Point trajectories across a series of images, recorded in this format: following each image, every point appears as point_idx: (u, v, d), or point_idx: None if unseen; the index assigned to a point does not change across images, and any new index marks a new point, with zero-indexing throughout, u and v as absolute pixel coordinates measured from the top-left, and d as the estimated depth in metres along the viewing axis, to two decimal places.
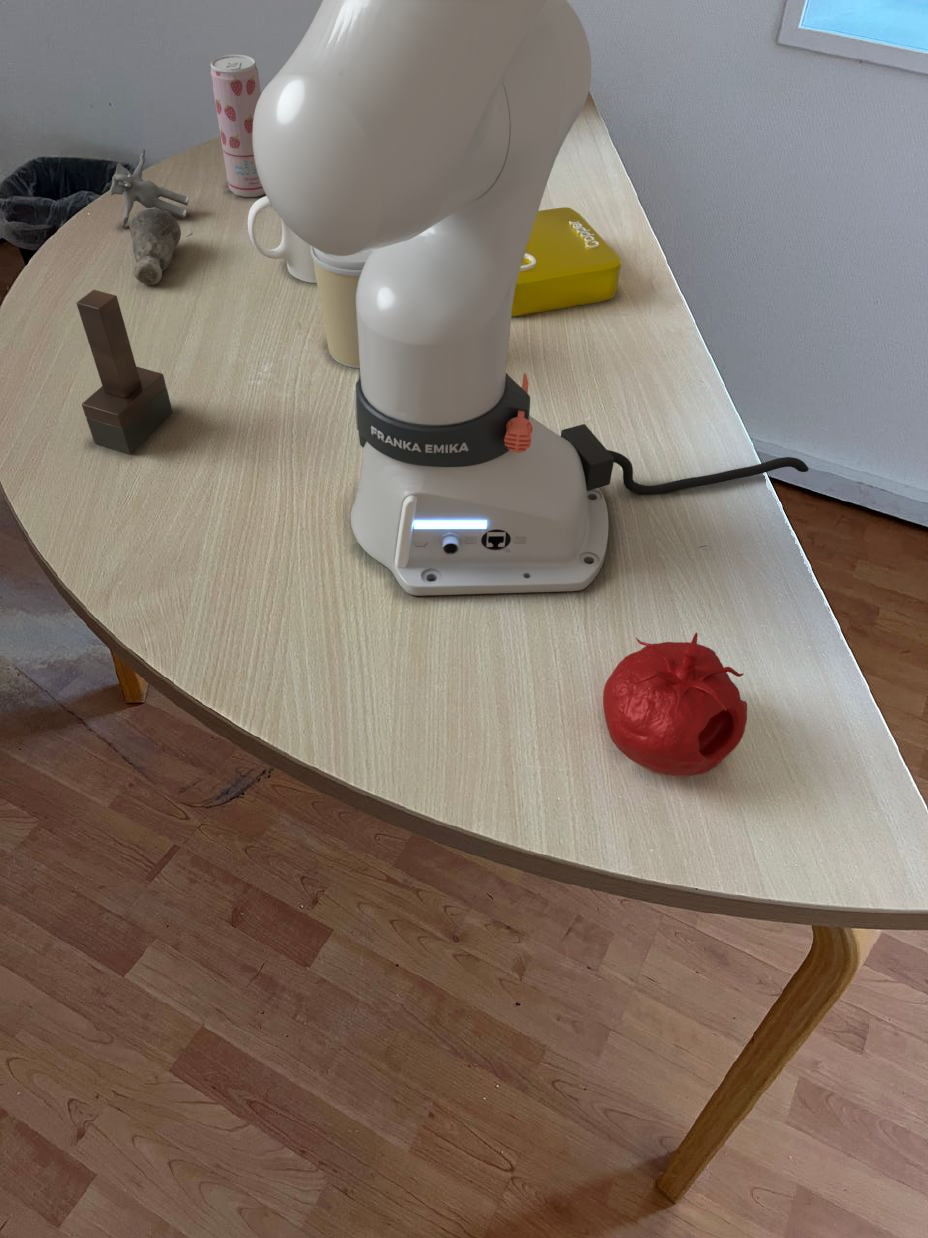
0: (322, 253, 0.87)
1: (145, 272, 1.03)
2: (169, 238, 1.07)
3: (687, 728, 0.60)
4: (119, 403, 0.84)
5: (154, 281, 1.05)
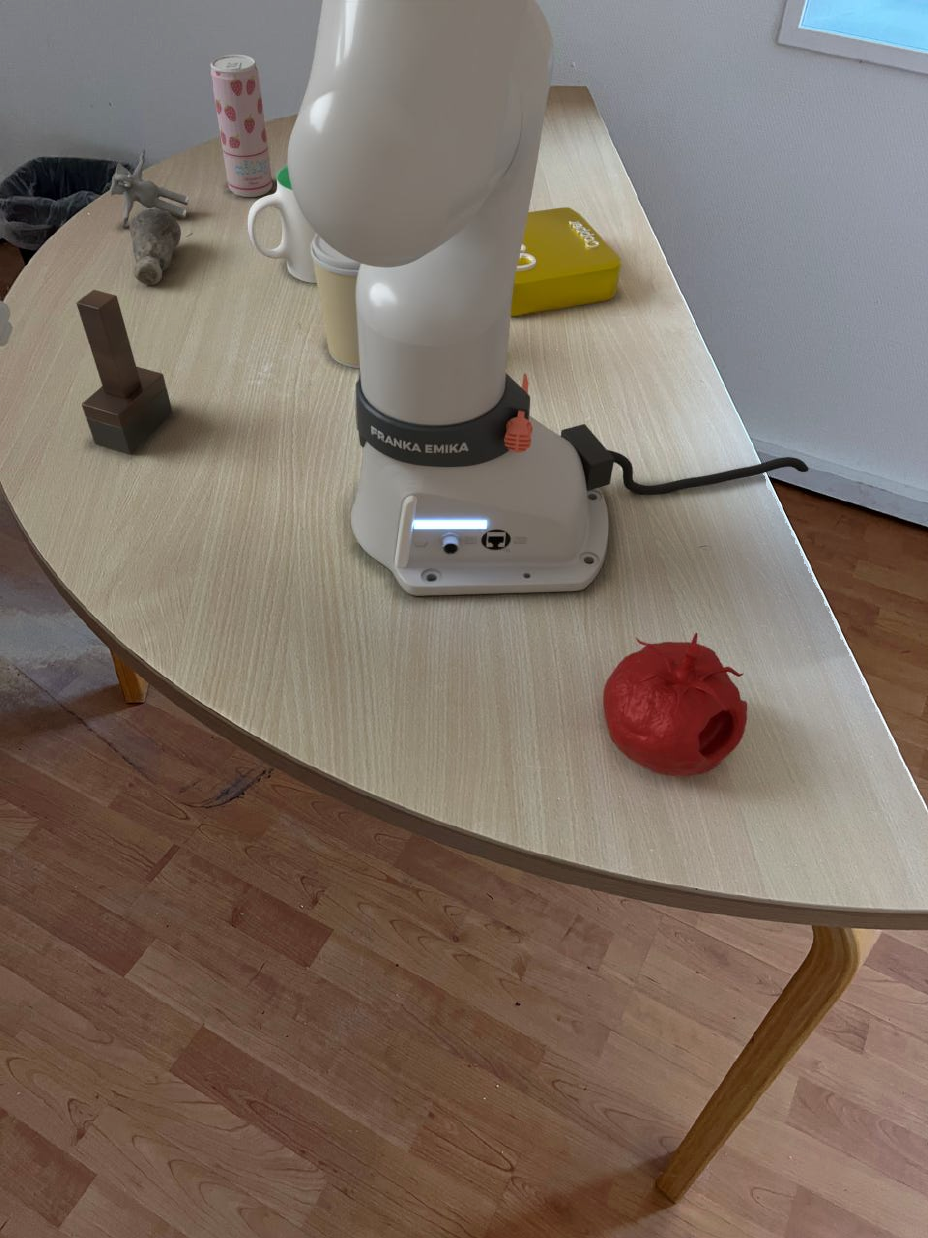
0: (322, 253, 0.87)
1: (145, 272, 1.03)
2: (169, 238, 1.07)
3: (687, 728, 0.60)
4: (119, 403, 0.84)
5: (154, 281, 1.05)
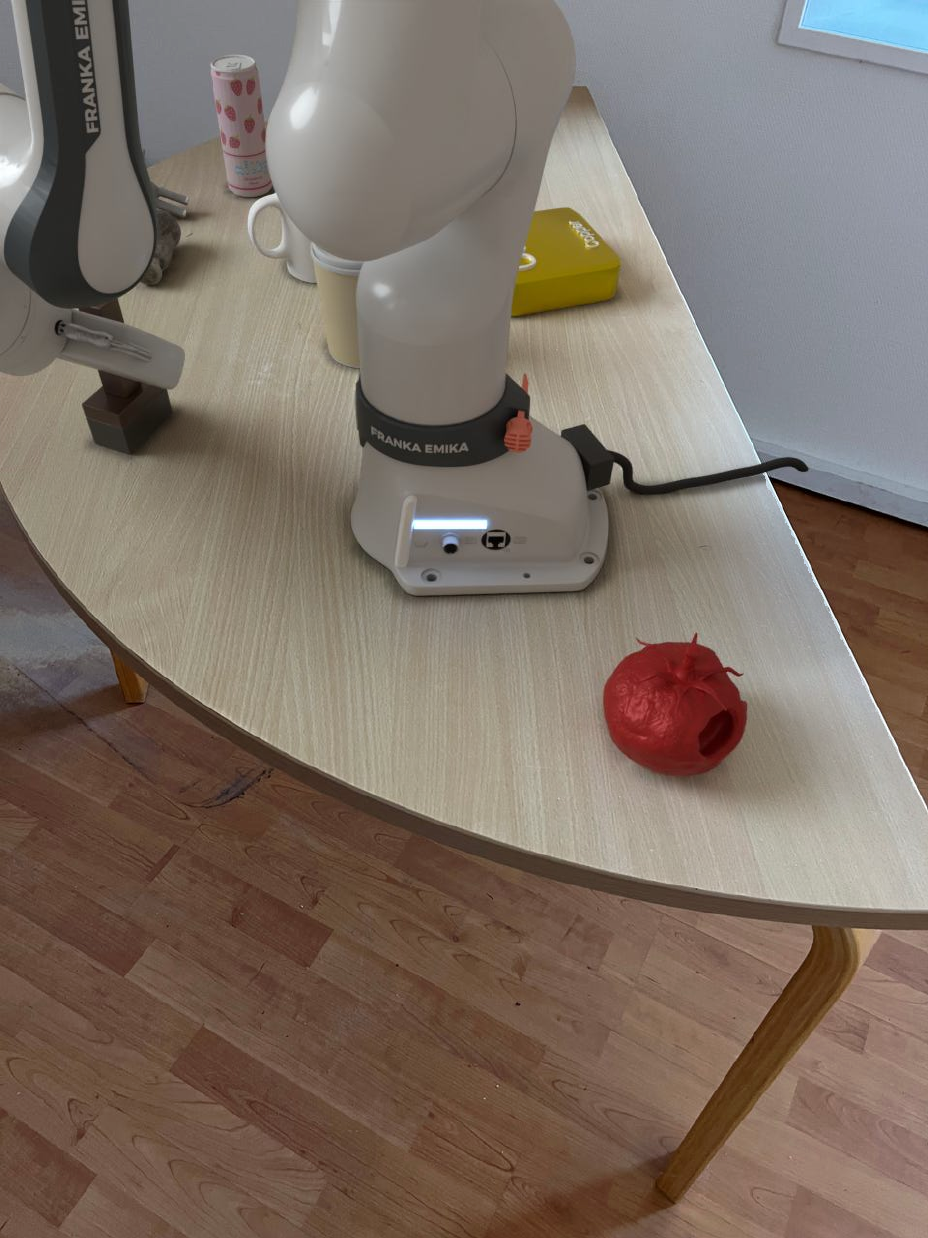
0: (322, 253, 0.87)
1: None
2: (169, 238, 1.07)
3: (687, 728, 0.60)
4: (119, 403, 0.84)
5: (153, 281, 1.05)
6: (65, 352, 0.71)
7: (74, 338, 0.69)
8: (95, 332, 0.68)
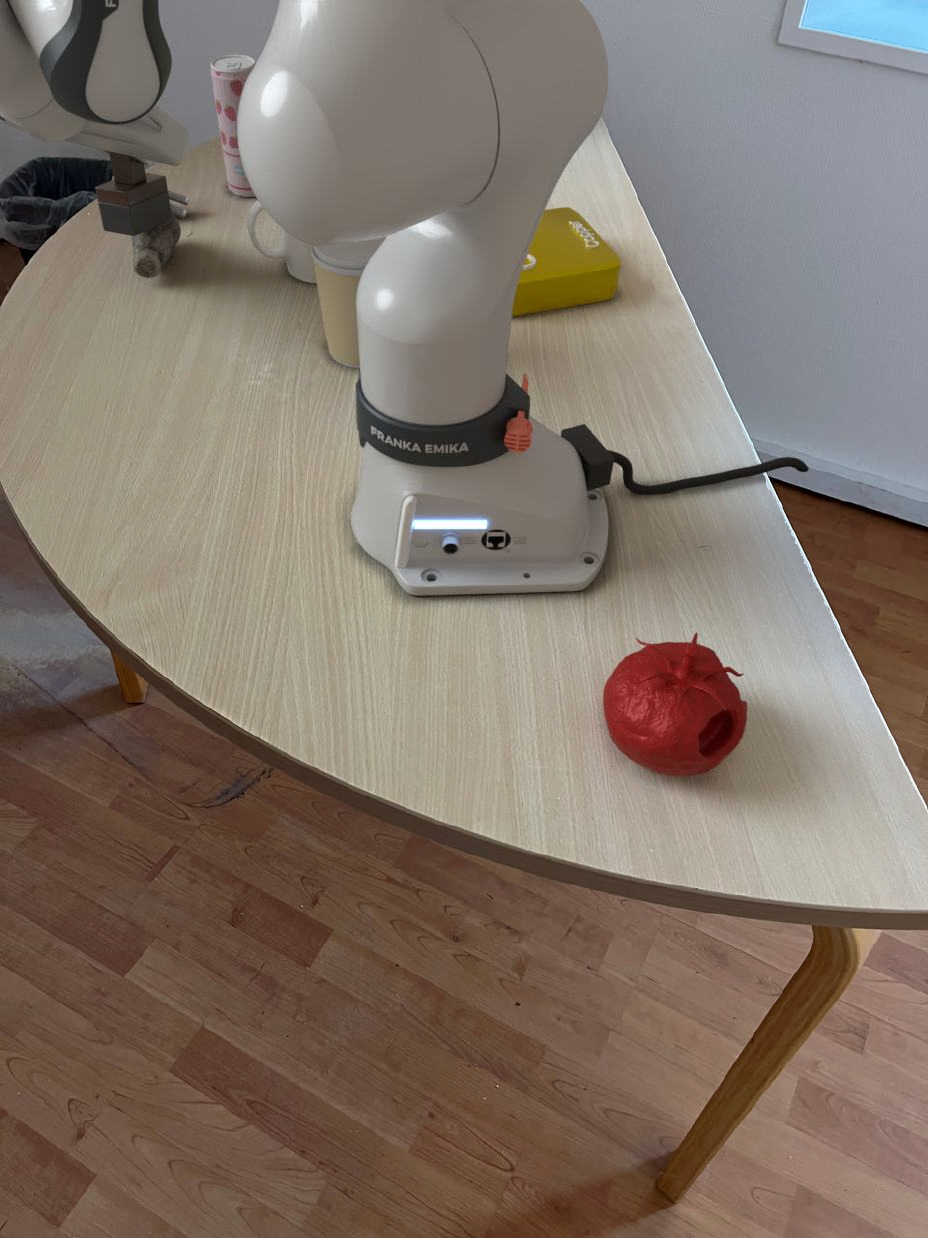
0: (322, 253, 0.87)
1: (143, 263, 1.03)
2: (169, 234, 1.06)
3: (687, 728, 0.60)
4: (127, 187, 0.98)
5: (152, 273, 1.04)
6: (91, 120, 0.87)
7: None
8: None
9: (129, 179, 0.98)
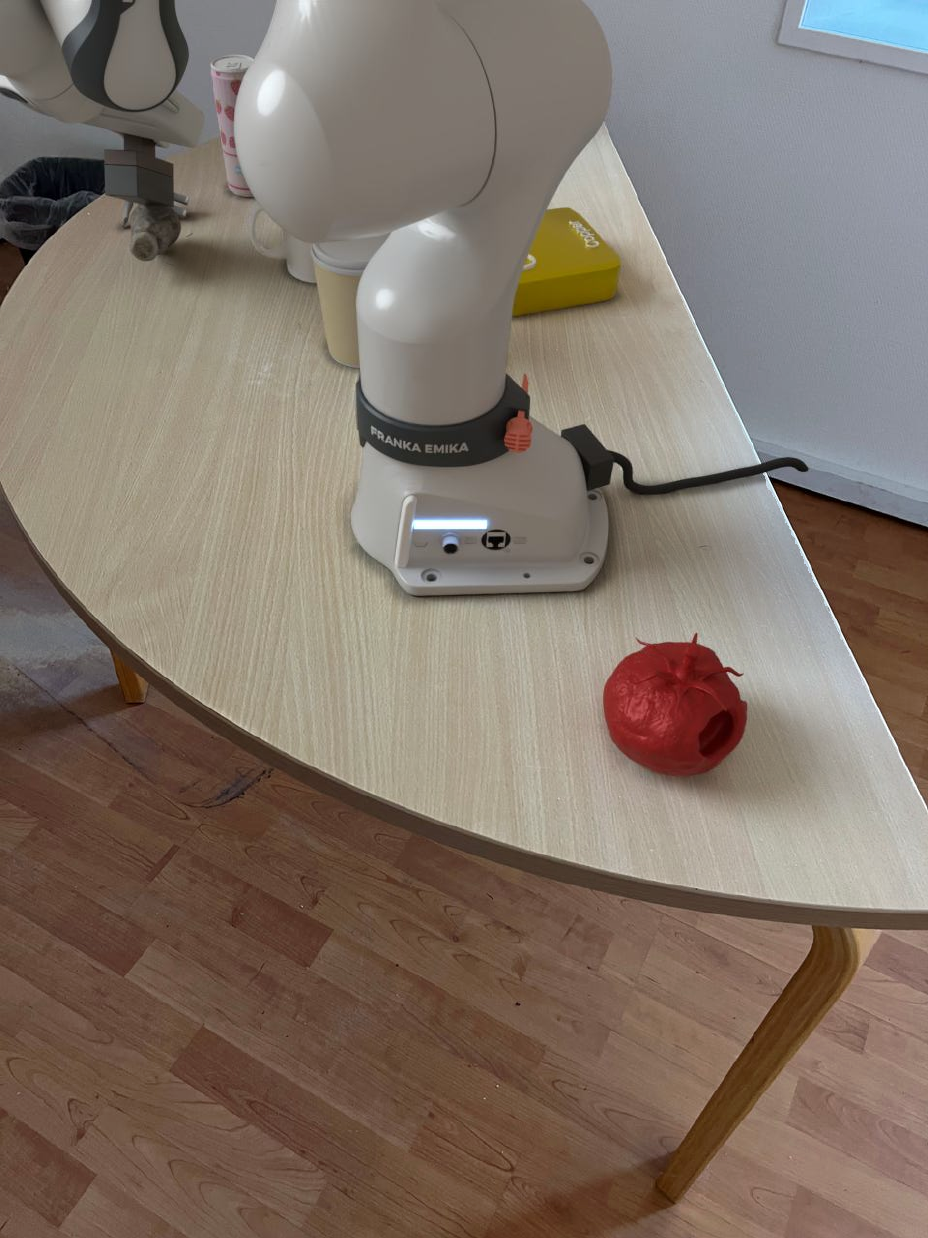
0: (322, 253, 0.87)
1: (141, 243, 1.02)
2: (168, 225, 1.06)
3: (687, 728, 0.60)
4: None
5: (149, 255, 1.03)
6: None
7: None
8: None
9: (139, 148, 0.99)
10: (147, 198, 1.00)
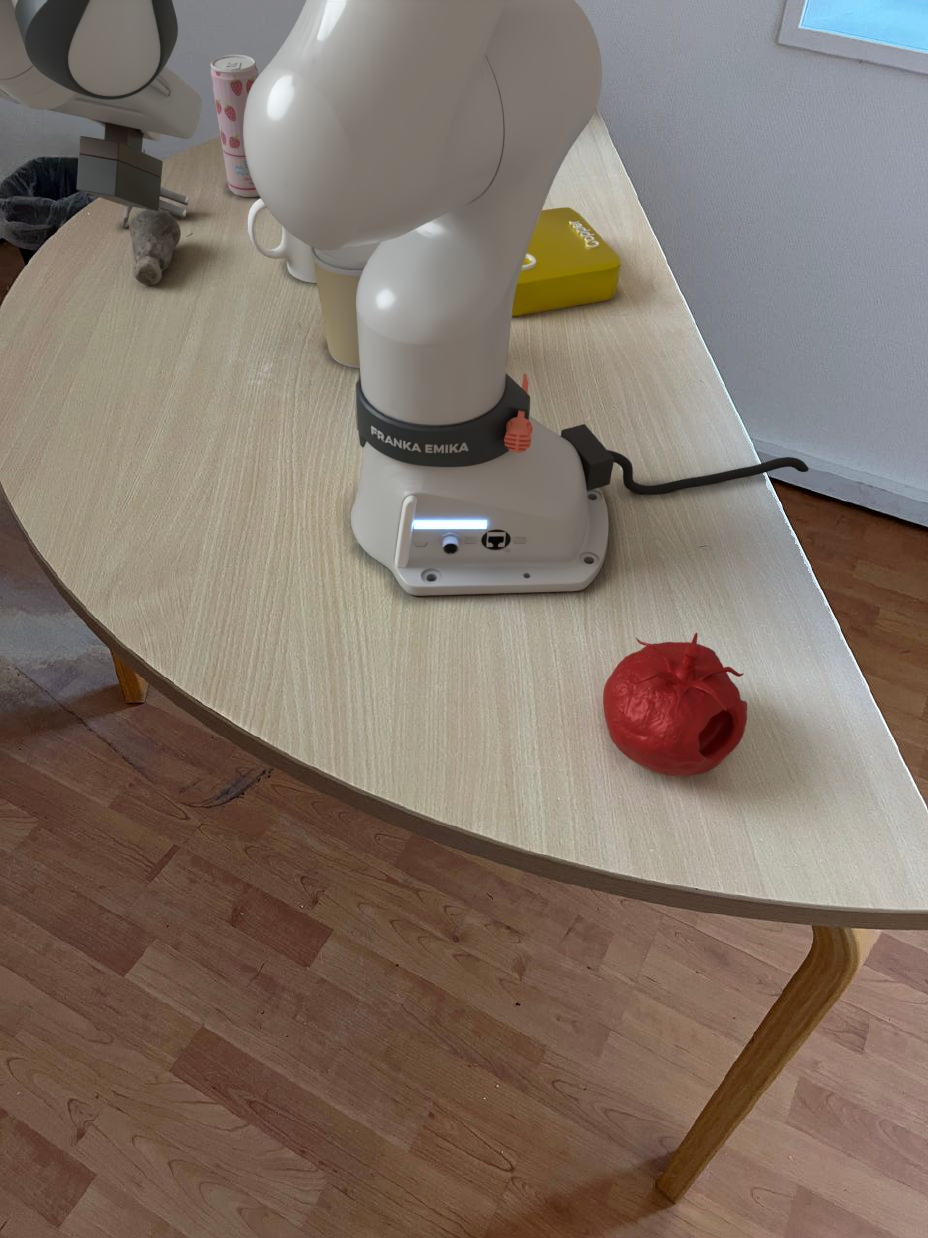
0: (322, 253, 0.87)
1: (145, 272, 1.03)
2: (169, 238, 1.07)
3: (687, 728, 0.60)
4: None
5: (153, 281, 1.05)
6: None
7: None
8: None
9: (123, 139, 0.84)
10: (127, 199, 0.84)
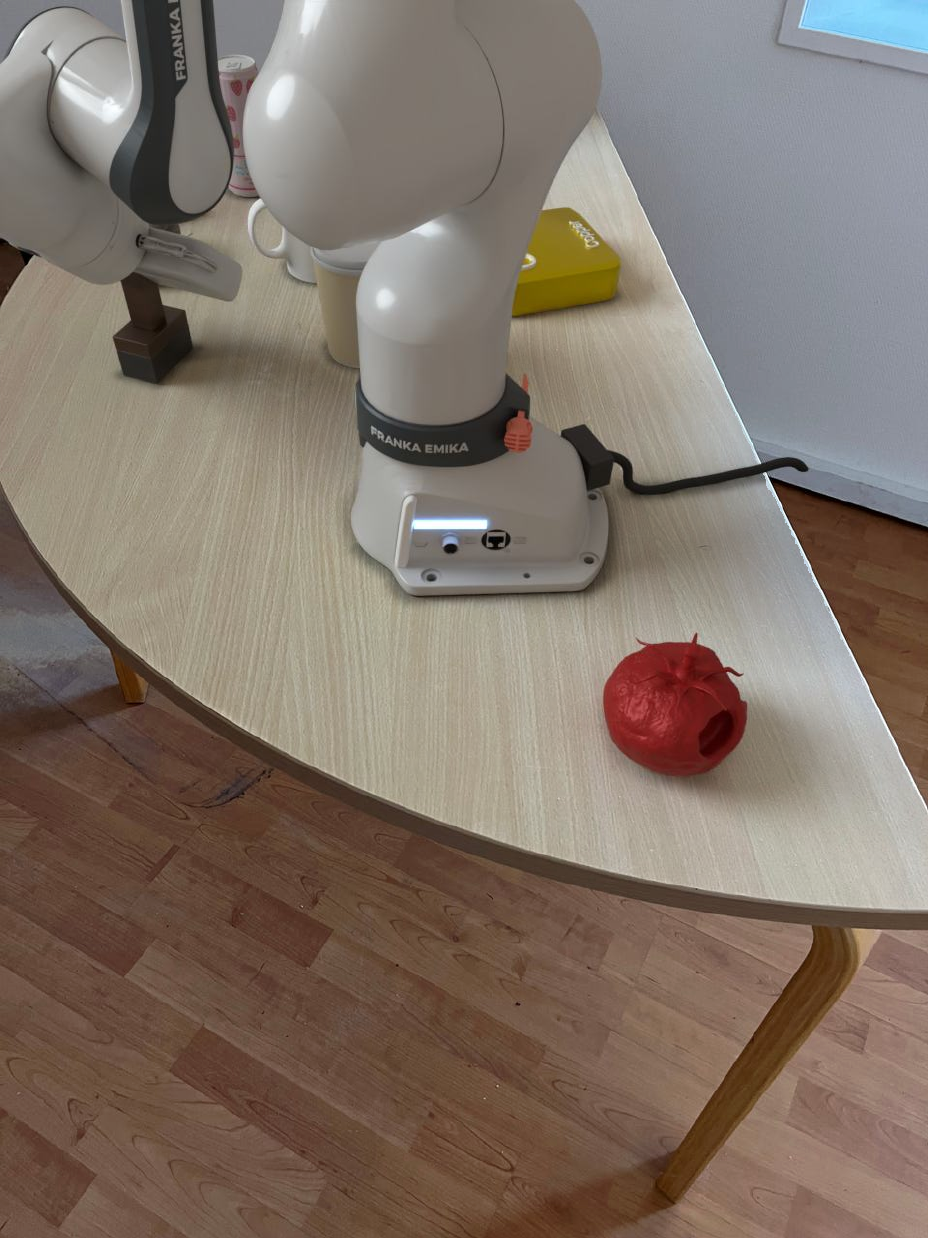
0: (322, 253, 0.87)
1: None
2: None
3: (687, 728, 0.60)
4: (147, 335, 0.91)
5: None
6: (143, 263, 0.82)
7: (152, 249, 0.80)
8: (171, 243, 0.80)
9: (148, 325, 0.91)
10: (167, 373, 0.94)
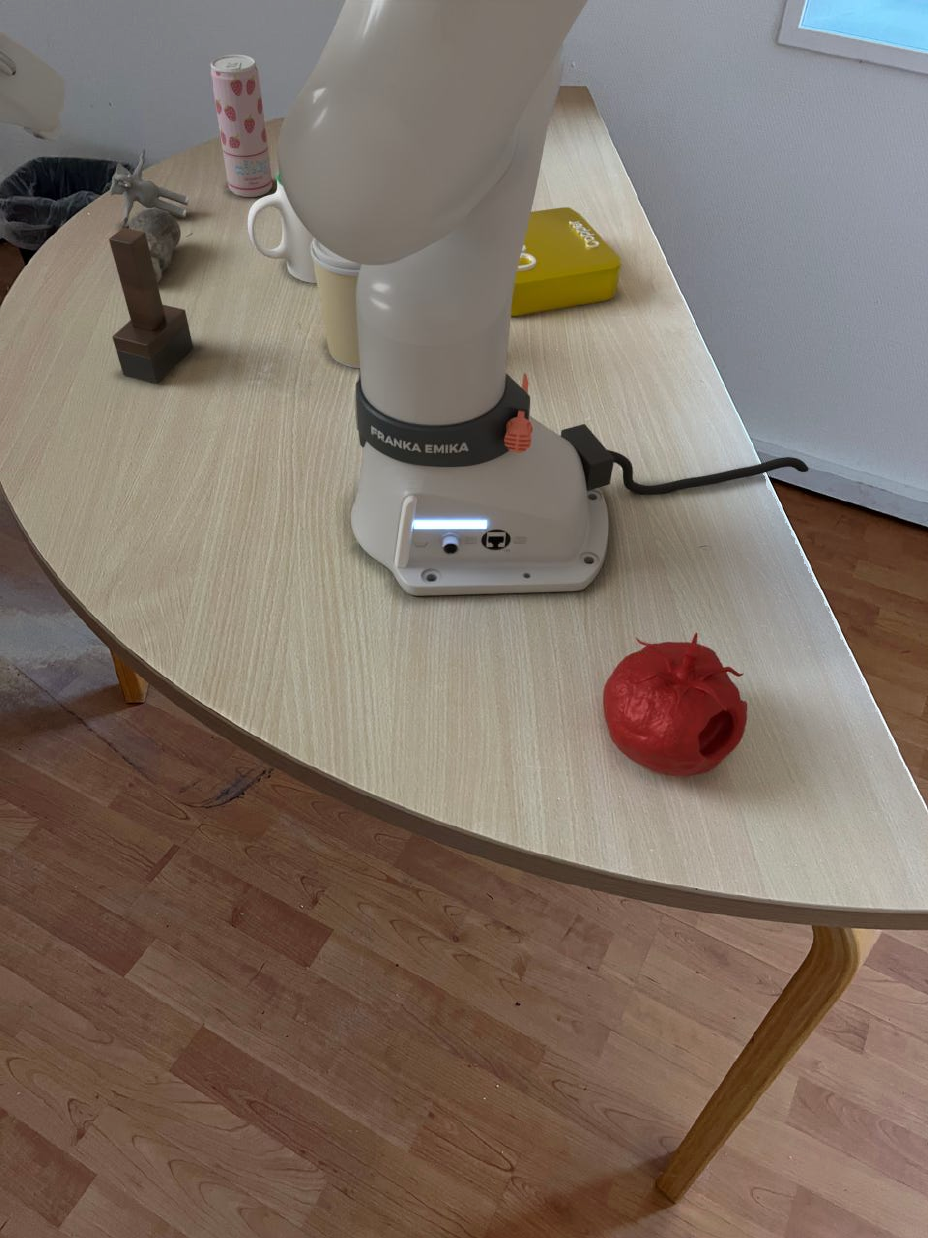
0: (322, 253, 0.87)
1: None
2: (169, 238, 1.07)
3: (687, 728, 0.60)
4: (147, 335, 0.91)
5: None
6: None
7: None
8: None
9: (148, 325, 0.91)
10: (167, 373, 0.94)
